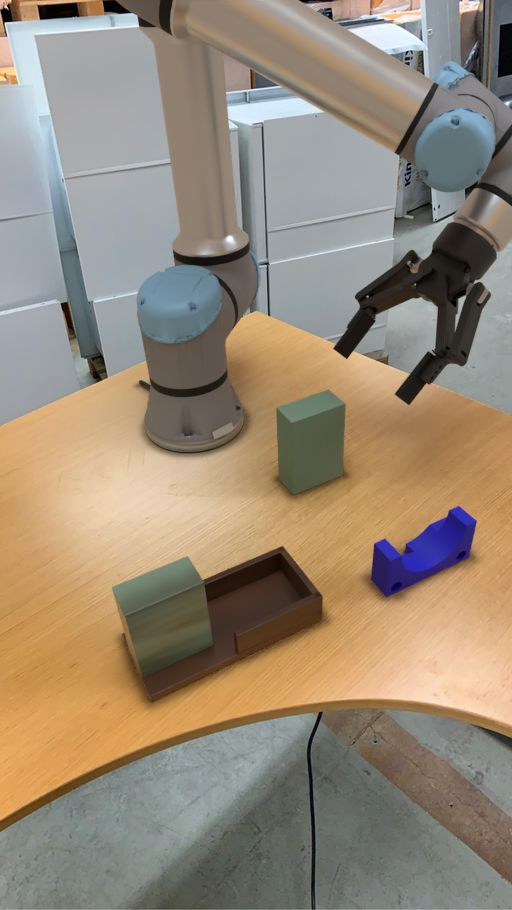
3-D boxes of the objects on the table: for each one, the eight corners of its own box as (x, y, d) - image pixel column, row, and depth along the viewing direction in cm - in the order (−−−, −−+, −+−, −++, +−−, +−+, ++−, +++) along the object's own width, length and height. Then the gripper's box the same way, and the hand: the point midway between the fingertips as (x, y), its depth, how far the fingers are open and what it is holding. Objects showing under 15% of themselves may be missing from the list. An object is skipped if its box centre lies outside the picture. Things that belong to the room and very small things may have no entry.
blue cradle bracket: (443, 534, 81) (450, 498, 77) (468, 557, 78) (476, 521, 74) (363, 571, 77) (366, 535, 73) (386, 597, 74) (390, 560, 70)
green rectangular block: (278, 478, 91) (275, 407, 84) (327, 460, 94) (328, 389, 86) (293, 495, 88) (291, 422, 81) (342, 475, 91) (345, 403, 83)
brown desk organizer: (123, 639, 71) (103, 571, 64) (283, 568, 78) (281, 500, 71) (151, 702, 65) (132, 634, 58) (322, 619, 72) (323, 550, 65)
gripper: (565, 287, 75) (446, 433, 79) (424, 226, 93) (332, 349, 97) (541, 252, 70) (416, 410, 74) (396, 195, 88) (301, 325, 92)
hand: (368, 376), depth 86 cm, fingers open, 13 cm apart
